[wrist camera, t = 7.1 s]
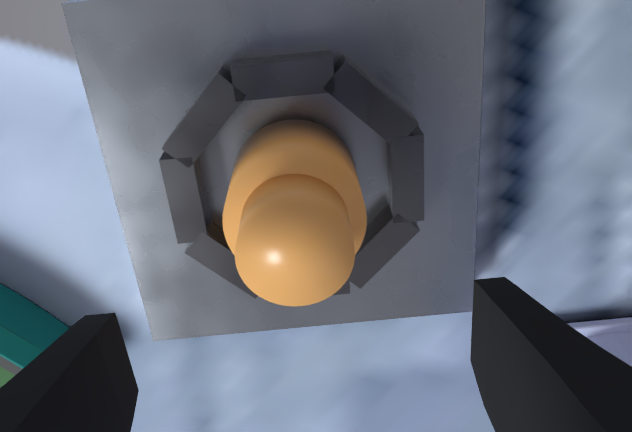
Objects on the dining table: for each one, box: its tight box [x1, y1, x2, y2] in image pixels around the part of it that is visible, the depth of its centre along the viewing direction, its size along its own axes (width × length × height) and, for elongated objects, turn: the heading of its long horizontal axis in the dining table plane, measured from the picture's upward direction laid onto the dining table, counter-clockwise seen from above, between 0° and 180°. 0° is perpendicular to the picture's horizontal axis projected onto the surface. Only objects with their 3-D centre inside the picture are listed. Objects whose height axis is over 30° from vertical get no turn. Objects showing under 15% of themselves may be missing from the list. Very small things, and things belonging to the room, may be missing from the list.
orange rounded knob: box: [222, 119, 367, 306], centre depth 17 cm, size 4×4×5 cm
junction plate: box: [62, 0, 486, 341], centre depth 19 cm, size 12×12×2 cm
